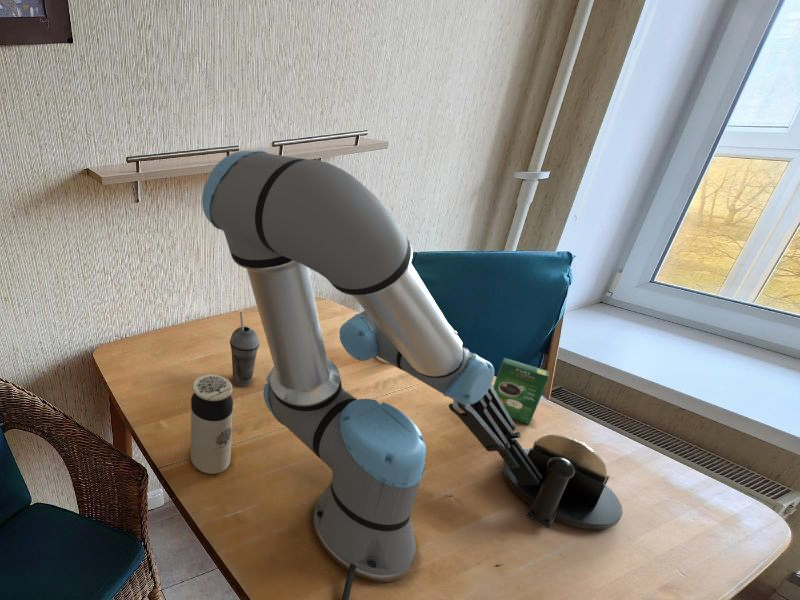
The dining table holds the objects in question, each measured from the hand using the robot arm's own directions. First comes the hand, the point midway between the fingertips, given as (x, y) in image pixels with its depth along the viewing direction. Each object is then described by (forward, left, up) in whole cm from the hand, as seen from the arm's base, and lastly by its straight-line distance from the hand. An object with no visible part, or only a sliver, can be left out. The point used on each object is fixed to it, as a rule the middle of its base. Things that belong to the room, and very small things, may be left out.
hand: (531, 481), depth 72 cm
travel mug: (-39, +37, -7) cm, 55 cm away
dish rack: (+8, -2, -6) cm, 10 cm away
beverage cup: (-17, +53, -7) cm, 57 cm away
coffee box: (+26, +12, -7) cm, 30 cm away
